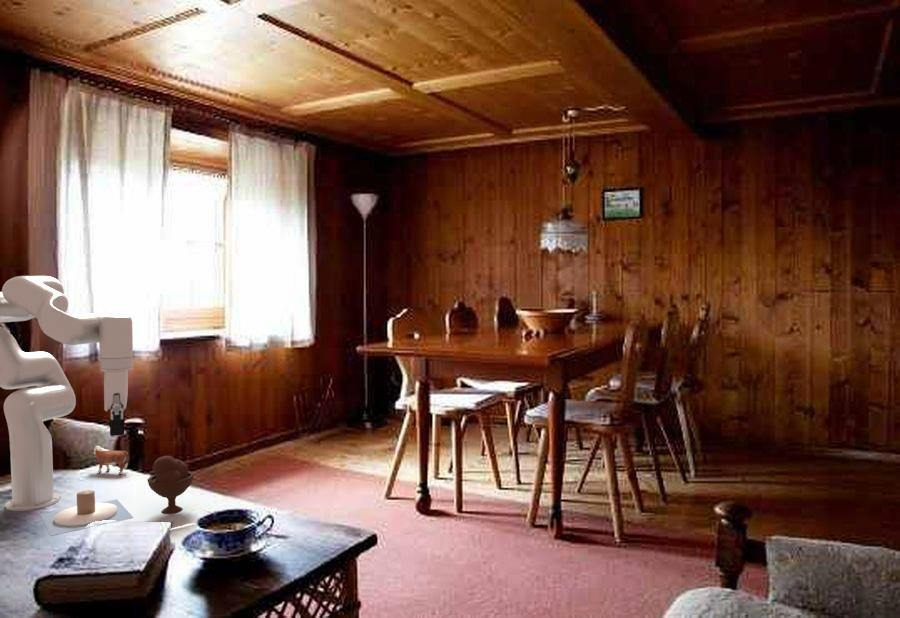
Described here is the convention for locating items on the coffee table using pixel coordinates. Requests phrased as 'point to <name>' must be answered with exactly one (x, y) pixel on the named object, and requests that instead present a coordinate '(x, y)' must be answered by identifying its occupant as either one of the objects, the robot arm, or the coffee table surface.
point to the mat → (57, 529)
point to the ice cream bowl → (170, 481)
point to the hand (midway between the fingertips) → (117, 430)
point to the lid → (85, 511)
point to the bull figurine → (110, 458)
